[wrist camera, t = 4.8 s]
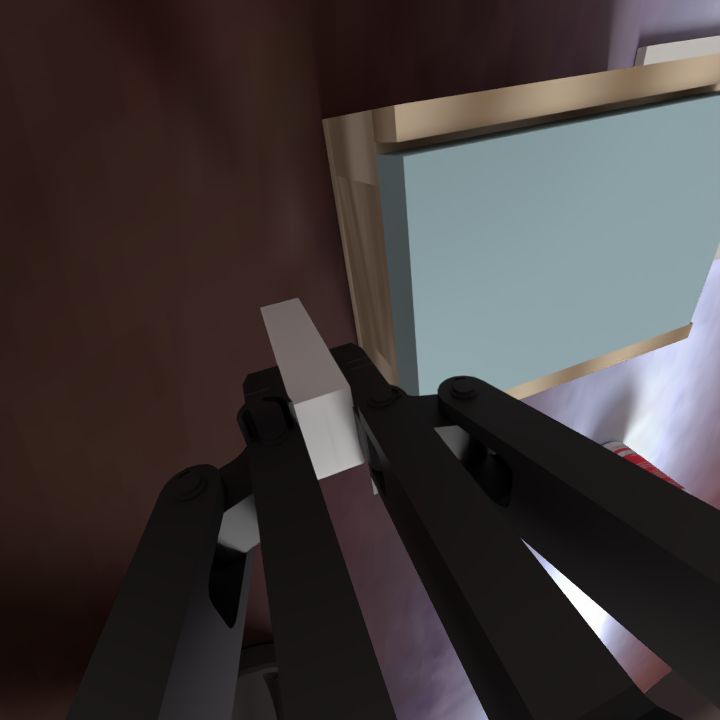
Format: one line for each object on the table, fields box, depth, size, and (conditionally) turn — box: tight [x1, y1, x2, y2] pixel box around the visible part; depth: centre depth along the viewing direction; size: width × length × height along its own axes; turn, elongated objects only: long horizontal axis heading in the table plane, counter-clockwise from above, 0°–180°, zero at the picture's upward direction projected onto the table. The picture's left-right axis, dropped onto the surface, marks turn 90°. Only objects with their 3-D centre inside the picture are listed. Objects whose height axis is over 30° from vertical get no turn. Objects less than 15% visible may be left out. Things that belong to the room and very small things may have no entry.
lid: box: [376, 90, 720, 396], centre depth 18 cm, size 17×11×2 cm, turn 99°
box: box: [322, 53, 720, 400], centre depth 21 cm, size 18×14×9 cm
